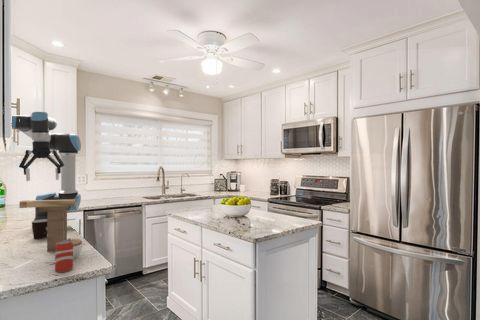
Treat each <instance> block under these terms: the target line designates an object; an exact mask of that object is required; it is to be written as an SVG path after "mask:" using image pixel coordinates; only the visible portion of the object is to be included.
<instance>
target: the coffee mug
mask: <svg viewBox="0 0 480 320" xmlns="http://www.w3.org/2000/svg"><path fill="white" fill-rule="evenodd" d="M32 228H33V229H32ZM31 229H32V235H33V239H34V240H42V239H47V219H42V220H35V221H34V220H31Z"/></svg>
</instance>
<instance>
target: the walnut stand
mask: <svg viewBox="0 0 480 320" xmlns="http://www.w3.org/2000/svg"><path fill="white" fill-rule="evenodd" d="M68 208H69V206H59V207H40V208H39V212H48V217H47V237H46V242H47V243H46V252H48V253H49V252H50V253H51V252H55V247H56V243H57V242H59V241H63V240H68V211H67V209H68Z"/></svg>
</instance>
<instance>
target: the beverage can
mask: <svg viewBox="0 0 480 320" xmlns="http://www.w3.org/2000/svg"><path fill="white" fill-rule="evenodd" d="M54 255H55V256H54V271H56V272H57V273H66V272H70V271H71V270H72V269H73V268H74V259H73V244H72V241H71V240H68V239H67V240H64V241H59V242H57V245H56V247H55V251H54Z"/></svg>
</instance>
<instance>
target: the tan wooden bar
mask: <svg viewBox="0 0 480 320" xmlns="http://www.w3.org/2000/svg"><path fill="white" fill-rule="evenodd" d="M18 204H19V209H25V208H26V209H27V208H31V209H32V208H35V207H59V206H75V205H76V199H67V200H36V199H35V200H21V201H19V203H18Z"/></svg>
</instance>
